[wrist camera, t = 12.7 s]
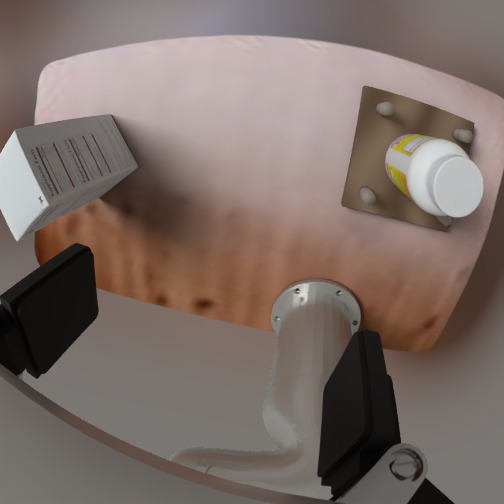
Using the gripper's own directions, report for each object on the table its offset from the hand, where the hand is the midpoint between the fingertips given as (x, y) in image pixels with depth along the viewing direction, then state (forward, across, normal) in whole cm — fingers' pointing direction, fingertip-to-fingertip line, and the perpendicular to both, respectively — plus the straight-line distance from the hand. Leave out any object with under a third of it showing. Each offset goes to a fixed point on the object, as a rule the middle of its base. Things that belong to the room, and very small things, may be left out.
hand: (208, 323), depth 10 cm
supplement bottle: (+26, -13, -6) cm, 30 cm away
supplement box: (+28, +26, +3) cm, 38 cm away
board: (+28, -14, -6) cm, 31 cm away
